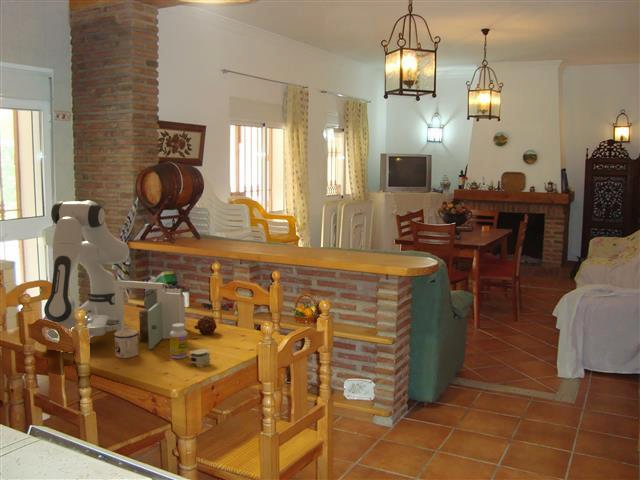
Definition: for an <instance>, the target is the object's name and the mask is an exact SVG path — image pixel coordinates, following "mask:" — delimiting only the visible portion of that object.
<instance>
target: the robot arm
mask: <svg viewBox="0 0 640 480" xmlns="http://www.w3.org/2000/svg"><path fill="white" fill-rule="evenodd" d="M50 211H51V212H50V216H51V219H52V222H53V224H55V228H54V233H53V240H52V263H53V265H52V266H53V274H52V283H51V290H50V291H51V292H50V295H49V297H48V299H47V301H46V302H45V305H44V308H43V312H44V317H43V318H42V320H43V319H48V320H51V321H53V322H57V323H59V324H60V325H62V326H63V327H65V328H67V329H70V330H71V328H72V327H74V326H76V324H77V322H76V320H75V317H74V316H75V315H74V314H75V308H76V302H75V300H74V298H73V297H72V296H71V295H69V289H70V288H69V287H70V279H71V275H72V271H73V269H74V267H75V266H76V265H77V263H78V264H79V265H81V266H82V267H83V268H84V269H85V271H86V272H87V275H88V278H89V284H90V292H89V293H87V294H86V295H85V298H88V299H87V300H86V301H85V302H84V303H83V304H82V305H81V306H79V307H78V308H77V310H79V309H83V310H86V316H85V322H84V325H85V326H87V327H88V328H89V334H90V336H91V337H95V336H96V337H97V336H104V335H105V334H106V332H111V331H116V330H117V329H118V325H116V324H119V319H116V310H115V287H114V281H116V277H115V275H114V274H113V273H112V272H111V271H109V270H107V269H106V268H104V266H103V264H108V265H109V264H111V265H115V264H121V263H124V262H126V261H127V260H128V258H129V257H130V253H131V252H130V246H128V244H127V243H126V241H122V240H120V239H118V238H117V237H116V236H115V235H113V234H112V232H110V230H109V229H108V226H107V223H106V210H105V208H104V207H103V205H101V204H99V203H97V202H95V201H94V200H83V201H65V200H61V201H57V202H55V203H54V205H52V207H51V210H50ZM83 239H84V241H83ZM47 333H48V335H49V336H50V337H51V338H50V339H59V338H58V334H57V333H56V332H55V331H54V330H49V331H48V332H47ZM90 336H89V337H90Z"/></svg>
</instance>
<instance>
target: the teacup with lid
mask: <svg viewBox="0 0 640 480" xmlns="http://www.w3.org/2000/svg"><path fill="white" fill-rule="evenodd" d="M138 335H139V332H138V330H135V329H132V328H130V327H129V326H128V325H124V327H123V329H121V330H120V331H117V332H116V331H115V332H114V334H113V336H114V350H115V351H114V352H115V357H116V358H118V359H130V358H134V357H136V356H137V355H139V340H138V339H139V337H138Z"/></svg>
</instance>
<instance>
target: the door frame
mask: <svg viewBox="0 0 640 480" xmlns="http://www.w3.org/2000/svg"><path fill="white" fill-rule="evenodd" d="M114 287H115V310H116V319H119V324H115V325H118V329H117V330H115V332H117V331H120V330H121V329H123V327H124V326H125V310H124V308H125V307H124V288H127V289H128V288H130V289H145V290H146V289H154V290H157V302H161V303H162V334H163V338H162V339H167V340H168V339H169V340H170V333H171V331H173V328H172V325H173V324H177V323H182V319H181V293H166V292H165V288H166V283H165V282H151V281H150V282H149V281H137V280H136V281H135V280H123V279H117V280H116V279H115V281H114ZM162 339H161V340H162Z"/></svg>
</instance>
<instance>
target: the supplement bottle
mask: <svg viewBox="0 0 640 480" xmlns="http://www.w3.org/2000/svg"><path fill="white" fill-rule="evenodd" d="M172 328H173V331H171V333H170V339H169V346H170V347H169V349H170V350H169V351H170V353H169V354H170V357H171V358H172V359H175V360H176V359H177V360H179V359H185V358H187V357H188V354H189V353H188V331H186V330H185V329H186V324H185V325H184V324H182V323H177V324H173V325H172Z"/></svg>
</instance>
